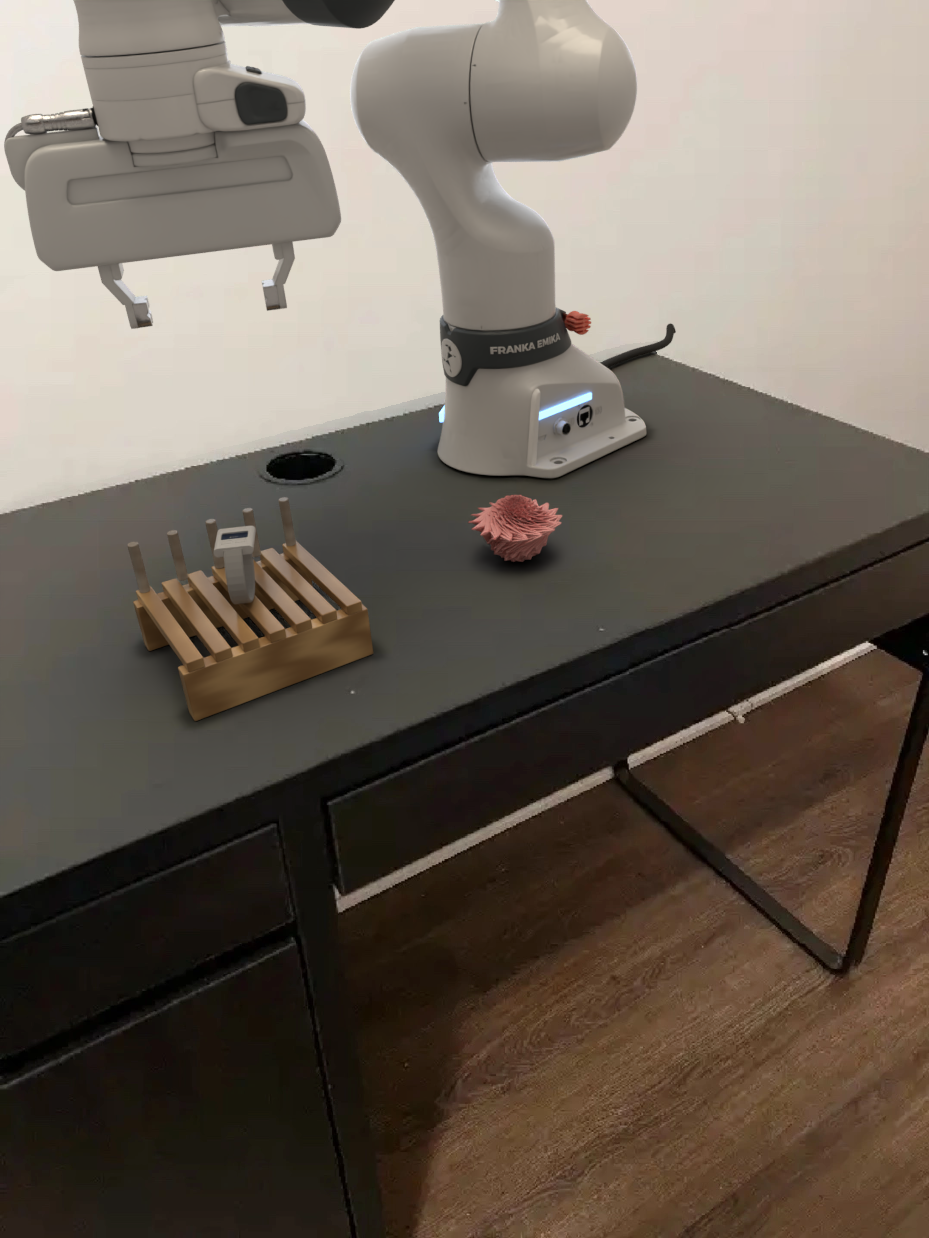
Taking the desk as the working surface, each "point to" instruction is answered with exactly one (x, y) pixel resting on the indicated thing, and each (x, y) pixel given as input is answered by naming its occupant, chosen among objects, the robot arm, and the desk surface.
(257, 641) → the rack
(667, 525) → the desk surface
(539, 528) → the flower
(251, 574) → the wristwatch
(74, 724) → the desk surface
